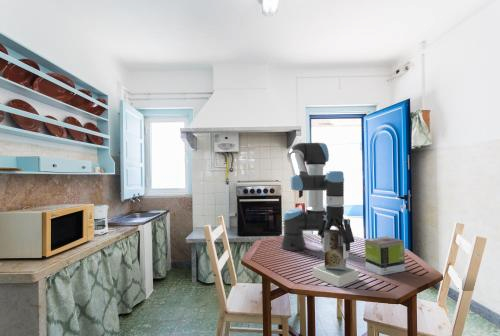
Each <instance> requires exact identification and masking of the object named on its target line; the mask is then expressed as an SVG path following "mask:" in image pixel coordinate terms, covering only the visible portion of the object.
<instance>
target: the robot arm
mask: <svg viewBox="0 0 500 336" xmlns="http://www.w3.org/2000/svg"><path fill="white" fill-rule="evenodd" d="M286 155H287V161H288V162H289V163H290V167H291V170H292V171H291V172H292V175H291V177H290V187H291V188H290V189H291V190H293V191H301V192H302V191H308V206H307V207H306V208H305V211H304V210H303V208H302V209H301V208H294V209H293V208H292V209H289V210H286V211H285V212H284V213H283V237H282V241H281V243H280V245H281V246H280V247H281V249H283V250H286V251H290V252H291V251H292V252H299V251H305V250H306V249H307V244H306V241H305V237H304V232H308V231H311V232H312V231H313V232H317V236H319V237H320V239H321V243H320V244H321V245H322V253H325V251H324V231H325V230H329V229H331V228H332V227H335V228H337V230H339V231H340V233H341V235H342V237H343V239H344V242H345V243H343V258H344V259H346V260H347V259H349V258H350V256H349V254H350V253H349V252H350V251H351V244H352V243H355V238H354V234H353V230H352V228H351V219H350V218H344V214H345V207H344V204H345V200H344V198H345V197H344V193H345V191H344V190H345V189H344V188H345V182H344V181H345V178H344V176H345V175H344V172H343V171H340V170H331V171H330V170H329V171H326V174H324V167H325V166H326V163H327V162H329V160H330V159H329V158H330V157H329V156H330V155H329V149H328V146H327V144H326V143H324V142H299V143H296V144H294V145H293V146H291V147H290V148H289V149H288V151H287V154H286ZM307 168H308V169H307ZM324 191H326V195H325V197H326V198H325V199H326V200H325V204H326V206H325V207H324Z"/></svg>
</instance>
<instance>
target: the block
mask: <svg viewBox="0 0 500 336" xmlns="http://www.w3.org/2000/svg"><path fill="white" fill-rule="evenodd" d="M359 276H360V275H359V270H358V269H356V268H353V267H352V266H347V265H346V270H341V269H331V268H325V263H323V264H320V265H316V266H314V267H312V278H315V279H319V280H321V281H323V282H325V283H327V284H330V285H333V286H334V287H337V288H340V287H342V286H343V287H344V286H345V285H348V284H351V283H353V282H355V281H357V280H359Z"/></svg>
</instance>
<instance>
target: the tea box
mask: <svg viewBox="0 0 500 336" xmlns="http://www.w3.org/2000/svg"><path fill="white" fill-rule="evenodd" d="M364 246H365V247H364V248H365V249H364V252H365V269H366V270H368V271H370V272H371V273H372V272H373V273H375V274H377V275H379V276H386V275H390V274H396V273H400V272H405V271H406V260H405V258H406V257H405V256H406V255H405V240H402V239H398V238H395V237H391V236H381V237H373V238H367V239H366V238H365V239H364Z"/></svg>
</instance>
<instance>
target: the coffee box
mask: <svg viewBox="0 0 500 336" xmlns="http://www.w3.org/2000/svg"><path fill="white" fill-rule="evenodd" d="M343 243H345V242H344V239H343V237H342V235H341V233H340V231H339V229H331V228H330V229H329V230H325V231H324V251H325V252H324V264H325V268H331V269H341V270H346V266H347V258H346V259H344V258H343Z"/></svg>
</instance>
